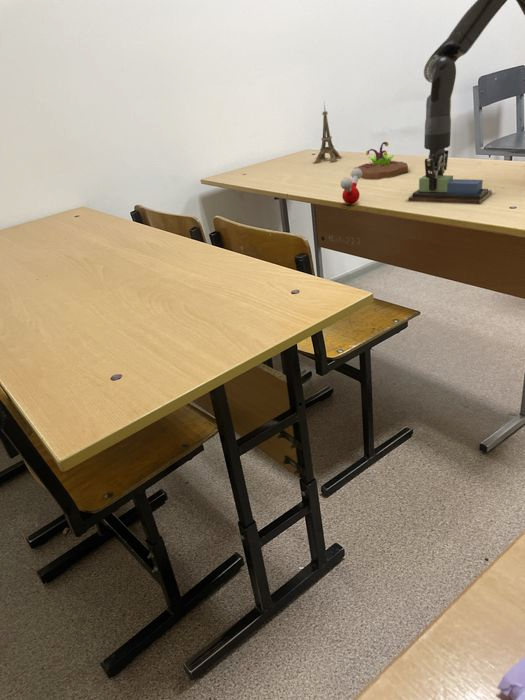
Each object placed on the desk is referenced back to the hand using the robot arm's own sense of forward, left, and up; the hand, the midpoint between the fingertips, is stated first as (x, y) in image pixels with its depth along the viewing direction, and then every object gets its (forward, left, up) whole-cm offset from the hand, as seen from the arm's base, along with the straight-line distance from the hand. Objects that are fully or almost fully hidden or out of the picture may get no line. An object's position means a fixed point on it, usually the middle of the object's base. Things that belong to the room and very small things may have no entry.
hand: (435, 188), depth 168 cm
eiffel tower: (+72, -55, -3) cm, 90 cm away
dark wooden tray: (-4, 0, -3) cm, 5 cm away
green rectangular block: (0, 0, -1) cm, 1 cm away
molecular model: (+24, +12, -3) cm, 27 cm away
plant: (+34, -32, -3) cm, 46 cm away
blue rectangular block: (-9, 0, -2) cm, 9 cm away
